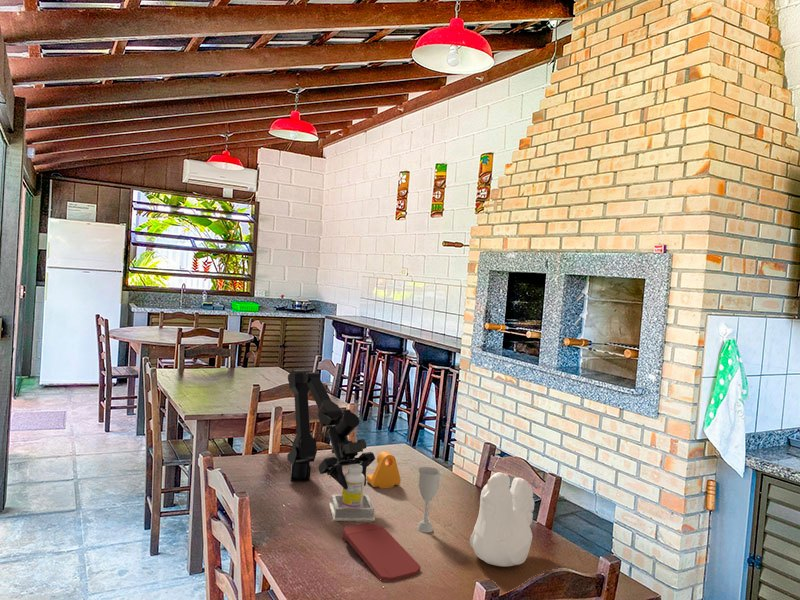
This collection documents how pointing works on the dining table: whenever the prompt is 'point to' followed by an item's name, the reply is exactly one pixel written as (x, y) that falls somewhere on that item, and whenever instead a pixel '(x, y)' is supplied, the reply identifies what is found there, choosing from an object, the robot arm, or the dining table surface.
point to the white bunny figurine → (504, 521)
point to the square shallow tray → (351, 510)
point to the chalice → (428, 493)
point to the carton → (380, 551)
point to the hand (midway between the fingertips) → (355, 487)
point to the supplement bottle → (353, 487)
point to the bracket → (385, 472)
